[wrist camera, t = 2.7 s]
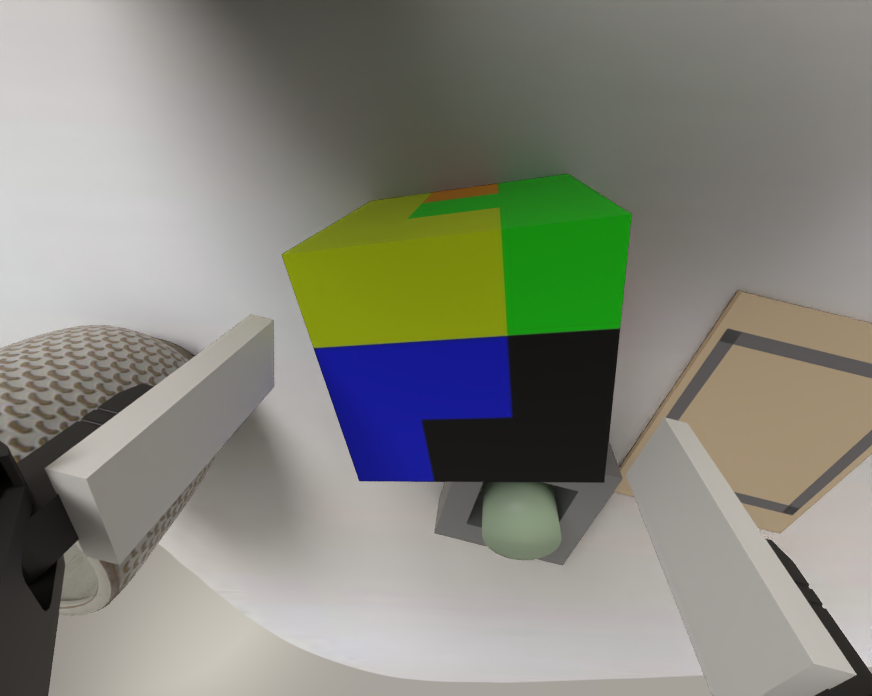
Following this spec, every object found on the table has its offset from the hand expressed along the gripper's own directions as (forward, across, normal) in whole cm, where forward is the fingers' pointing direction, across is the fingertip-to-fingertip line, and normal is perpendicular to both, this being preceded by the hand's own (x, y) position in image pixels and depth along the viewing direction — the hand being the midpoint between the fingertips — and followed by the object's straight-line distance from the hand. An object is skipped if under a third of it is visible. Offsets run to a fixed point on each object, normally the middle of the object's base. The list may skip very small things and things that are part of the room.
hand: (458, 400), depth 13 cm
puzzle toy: (+11, 0, 0) cm, 11 cm away
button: (+9, +7, -14) cm, 18 cm away
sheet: (+10, +20, -4) cm, 23 cm away
